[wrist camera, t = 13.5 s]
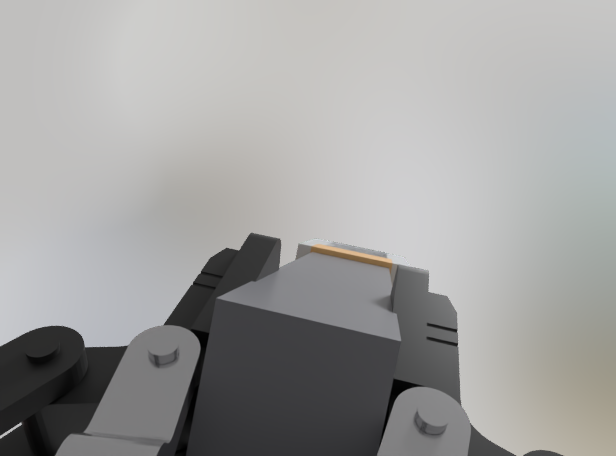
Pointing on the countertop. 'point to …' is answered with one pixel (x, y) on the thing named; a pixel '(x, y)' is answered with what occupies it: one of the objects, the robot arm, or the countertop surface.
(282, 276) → the cord plug
